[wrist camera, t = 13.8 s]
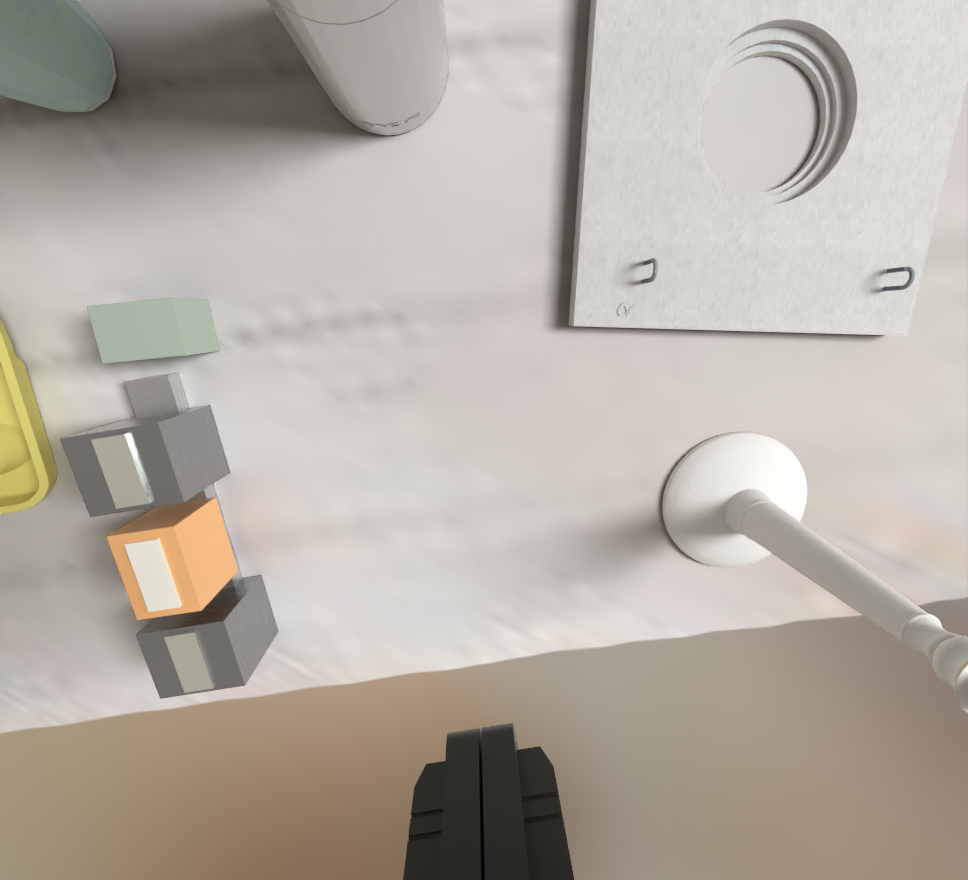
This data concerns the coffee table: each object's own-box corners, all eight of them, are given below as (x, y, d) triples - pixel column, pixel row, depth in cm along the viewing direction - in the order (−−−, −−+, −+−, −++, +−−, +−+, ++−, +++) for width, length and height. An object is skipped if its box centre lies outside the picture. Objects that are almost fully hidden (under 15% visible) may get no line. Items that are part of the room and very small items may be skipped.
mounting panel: (580, 326, 36) (619, -202, 28) (567, 325, 41) (597, -125, 33) (935, 336, 37) (1061, -173, 29) (880, 334, 41) (977, -103, 34)
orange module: (157, 505, 41) (103, 538, 35) (215, 497, 41) (171, 528, 35) (182, 579, 43) (134, 622, 37) (238, 571, 43) (199, 612, 37)
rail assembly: (115, 383, 40) (40, 397, 33) (199, 369, 40) (140, 380, 33) (208, 651, 47) (162, 711, 39) (281, 640, 46) (246, 698, 39)
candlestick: (651, 451, 43) (1032, 732, 14) (796, 415, 42) (1504, 629, 13) (673, 578, 46) (1021, 1026, 17) (808, 546, 46) (1404, 950, 16)
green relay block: (134, 307, 39) (86, 306, 34) (209, 300, 39) (171, 297, 34) (147, 357, 40) (102, 363, 35) (220, 350, 40) (185, 355, 35)
